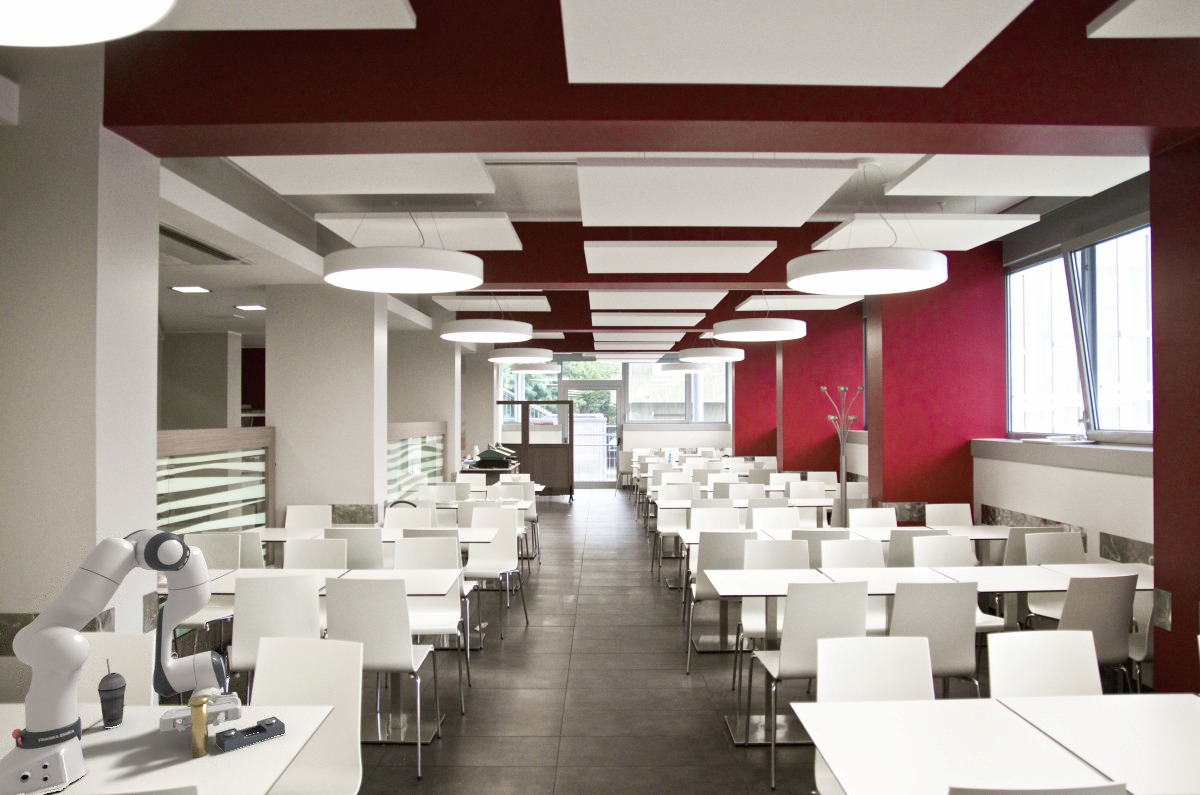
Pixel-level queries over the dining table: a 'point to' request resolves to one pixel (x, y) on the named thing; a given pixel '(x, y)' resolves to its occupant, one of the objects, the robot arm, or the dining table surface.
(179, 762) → the dining table surface
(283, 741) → the dining table surface
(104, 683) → the beverage cup
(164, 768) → the dining table surface
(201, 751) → the pin
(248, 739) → the slotted clamp bar
